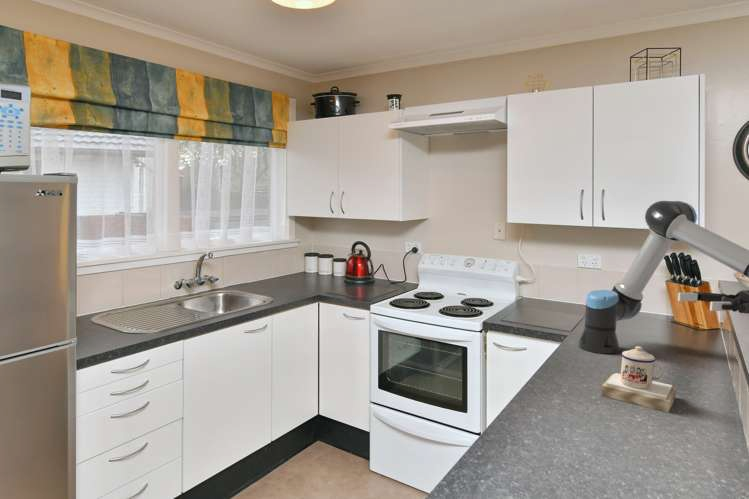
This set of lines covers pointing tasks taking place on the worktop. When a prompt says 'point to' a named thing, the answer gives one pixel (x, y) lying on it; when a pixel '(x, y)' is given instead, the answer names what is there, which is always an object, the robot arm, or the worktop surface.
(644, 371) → the teacup with lid
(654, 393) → the oak tea stand
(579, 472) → the worktop surface
